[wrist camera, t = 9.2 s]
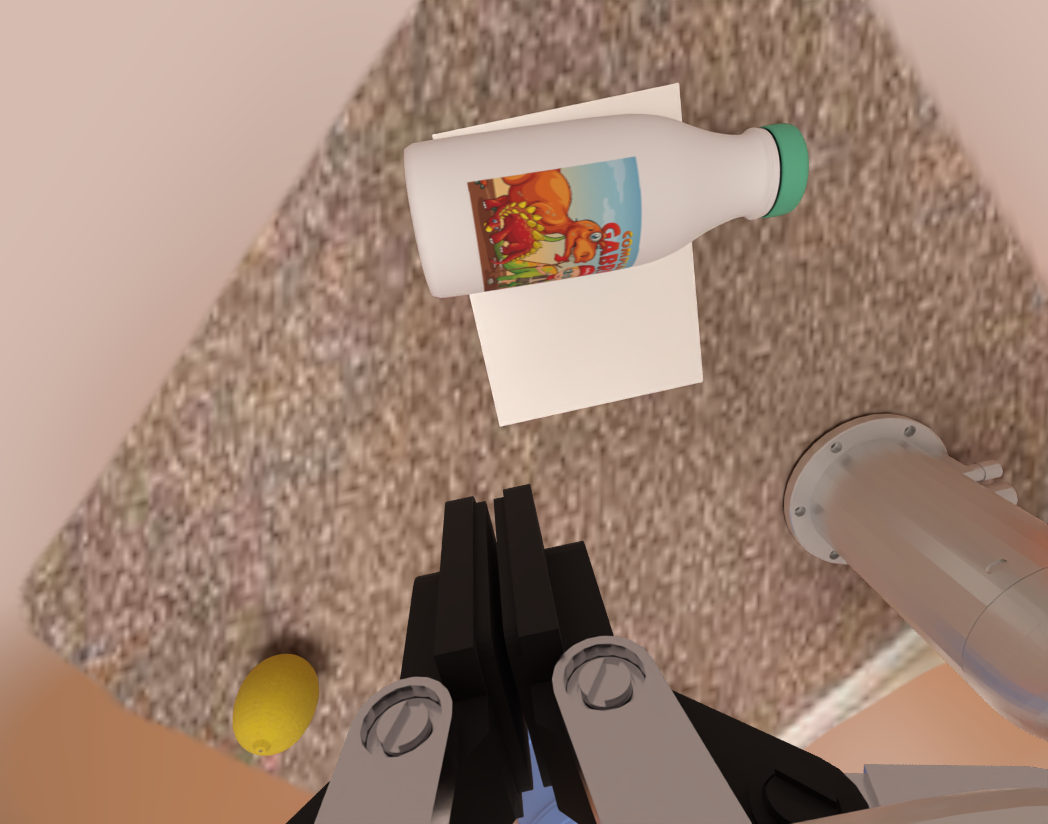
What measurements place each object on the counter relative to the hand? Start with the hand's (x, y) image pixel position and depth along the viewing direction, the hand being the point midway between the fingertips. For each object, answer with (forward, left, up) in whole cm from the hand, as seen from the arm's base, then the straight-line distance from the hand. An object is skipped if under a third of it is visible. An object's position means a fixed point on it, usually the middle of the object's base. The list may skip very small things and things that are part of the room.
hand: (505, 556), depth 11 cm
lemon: (+20, +25, -28) cm, 42 cm away
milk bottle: (+2, -5, -23) cm, 23 cm away
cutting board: (-7, 0, -28) cm, 28 cm away
